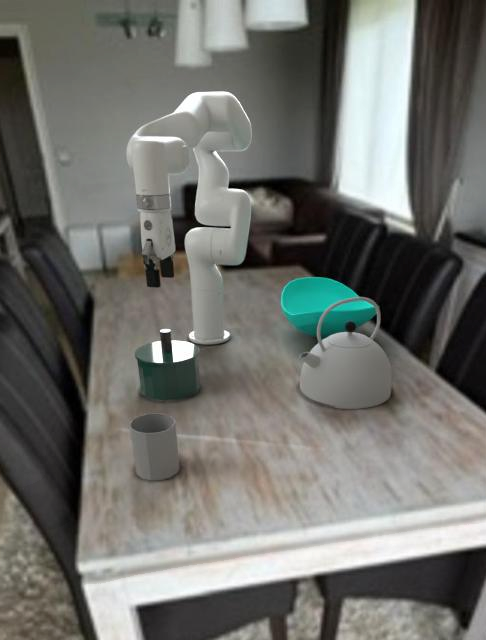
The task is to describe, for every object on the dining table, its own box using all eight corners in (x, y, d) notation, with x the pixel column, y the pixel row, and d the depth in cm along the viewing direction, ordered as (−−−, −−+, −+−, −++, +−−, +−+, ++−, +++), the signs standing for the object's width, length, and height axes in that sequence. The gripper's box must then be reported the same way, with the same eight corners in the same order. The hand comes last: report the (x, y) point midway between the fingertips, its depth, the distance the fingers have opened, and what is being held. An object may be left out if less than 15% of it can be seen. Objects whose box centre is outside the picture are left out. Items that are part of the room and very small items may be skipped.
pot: (153, 376, 149) (149, 341, 144) (206, 380, 147) (204, 345, 142) (132, 399, 137) (127, 362, 132) (189, 404, 135) (187, 366, 130)
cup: (156, 454, 115) (151, 409, 109) (188, 465, 111) (184, 420, 105) (127, 472, 109) (120, 425, 104) (158, 485, 105) (153, 437, 100)
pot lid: (148, 343, 145) (146, 319, 142) (207, 347, 142) (205, 322, 139) (124, 365, 132) (121, 339, 129) (188, 369, 129) (186, 343, 126)
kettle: (324, 418, 128) (331, 319, 116) (275, 383, 145) (276, 293, 133) (410, 396, 138) (425, 303, 125) (354, 366, 154) (362, 281, 142)
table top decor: (396, 352, 164) (402, 306, 156) (305, 361, 158) (308, 314, 151) (342, 314, 196) (346, 274, 189) (266, 320, 190) (266, 279, 183)
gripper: (156, 208, 119) (163, 291, 128) (181, 198, 133) (186, 274, 142) (123, 208, 120) (132, 290, 130) (151, 198, 134) (158, 273, 144)
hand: (161, 282), depth 136 cm, fingers open, 9 cm apart
